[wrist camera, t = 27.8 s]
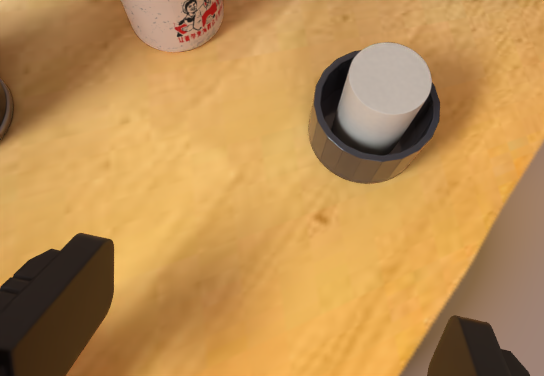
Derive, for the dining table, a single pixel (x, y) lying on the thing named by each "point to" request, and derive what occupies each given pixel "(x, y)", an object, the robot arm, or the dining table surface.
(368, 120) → the plain white cylinder
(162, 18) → the teacup with lid
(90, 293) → the robot arm
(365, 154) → the dark round open container
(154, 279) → the dining table surface
